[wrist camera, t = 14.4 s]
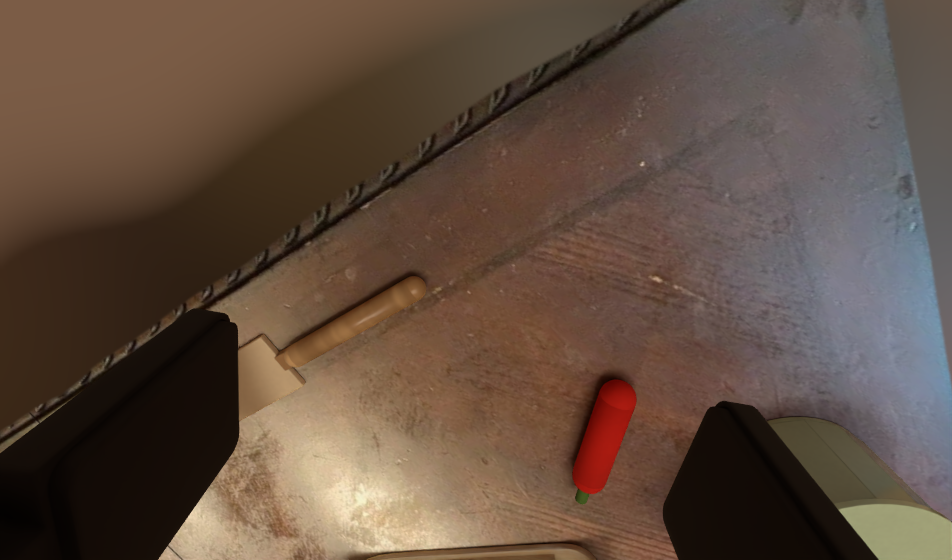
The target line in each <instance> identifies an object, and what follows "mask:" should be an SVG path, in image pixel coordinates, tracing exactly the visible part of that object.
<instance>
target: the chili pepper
mask: <svg viewBox="0 0 952 560" xmlns="http://www.w3.org/2000/svg"><path fill="white" fill-rule="evenodd" d="M635 406H636V393H635V391H634V389H633V388H632V387H631V385H630V384H628V383H627V382H625V381H622V380H617V379H616V380H610V381H608V382H606V383H605V384H604V385H603V386H602V387H601V389H600V391H599V394H598V397H597V400H596V403H595V406H594V409H593V412H592V415H591V418H590V421H589V424H588V427H587V430H586V433H585V435H584V438H583V441H582V444H581V447H580V450H579V453H578V456H577V459H576V462H575V465H574V468H573V472H572V475H573V480H574V483H575V485H576V486H577V487H578V490H577V493H576V496H575V499H576V501H577V502H578V503H580V504H585V503H586V502H587V499H588V497H589V494H595V493H597V492H599V491H601V490H602V489H603V488H604V486H605V484H606V482H607V479H608V476H609V474H610V471H611V469H612V466H613V463H614V461H615V458H616V455H617V453H618V450H619V448H620V445H621V442H622V440H623V437H624V434H625V432H626V429H627V427H628V424H629V421H630V419H631V416H632V413H633V411H634V408H635Z"/></svg>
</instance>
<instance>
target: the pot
mask: <svg viewBox="0 0 952 560" xmlns="http://www.w3.org/2000/svg"><path fill="white" fill-rule="evenodd" d="M767 422H768V423H769V425H770V426H771V427H772V428H773V430H774V431H775V432H776V433H777V435H778V436H779V437H780V438H781V439H782V441H783V442H784V443H785V444H786V446H787V447H788V448H789V449H790V451H791V452H792V453H793V454H794V456H795V457H796V458H797V459H798V460H799V462H800V463H801V464H802V465H803V467H804V468H805V469H806V470H807V472H808V473H809V474H810V475H811V476H812V478H813V479H814V480H815V481H816V483H817V484H818V485H819V486H820V488H821V489H822V490H823V491H824V493H825V494H826V495H827V496H828V497H829V499H830V500H831V501H832V502H833V504H835V503H839V502H844V501H850V500H857V499H870V498H884V499H897V500H905V501H909V502H913V503H918V504H921V505H923V506H926V507H929V508H931V507H930V506H929V505H928V504H927V503H926V502H925V501H924V500H923V499H922V498H921V497H920V496H919V495H918V494H917V493H916V492H915V491H914V490H913V489H911V488H910V487H909V486H908V485H907V484H906V483H905V482H904V481H903V480H902V479H901V478H900V477H899V476H898V475H897V474H896V473H895V472H894V471H893V470H892V469H891V468H890V467H889V466H888V465H887V464H886V463H885V462H884V461H883V460H882V459H881V458H879V457H878V456H877V455H876V454H875V453H874V452H873V451H872V450H871V449H870V448H869V447H868V446H867V445H866V444H865V443H864V442H863V441H861V440H860V439H858V438H857V437H855V436H854V435H853V434H852V433H851V432H849V431H848V430H847V429H845V428H843V427H841V426H839V425H837V424H835V423H832V422H829V421H826V420H822V419H817V418H809V417H787V418H779V419H774V420H768V421H767ZM931 509H932V508H931Z"/></svg>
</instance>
